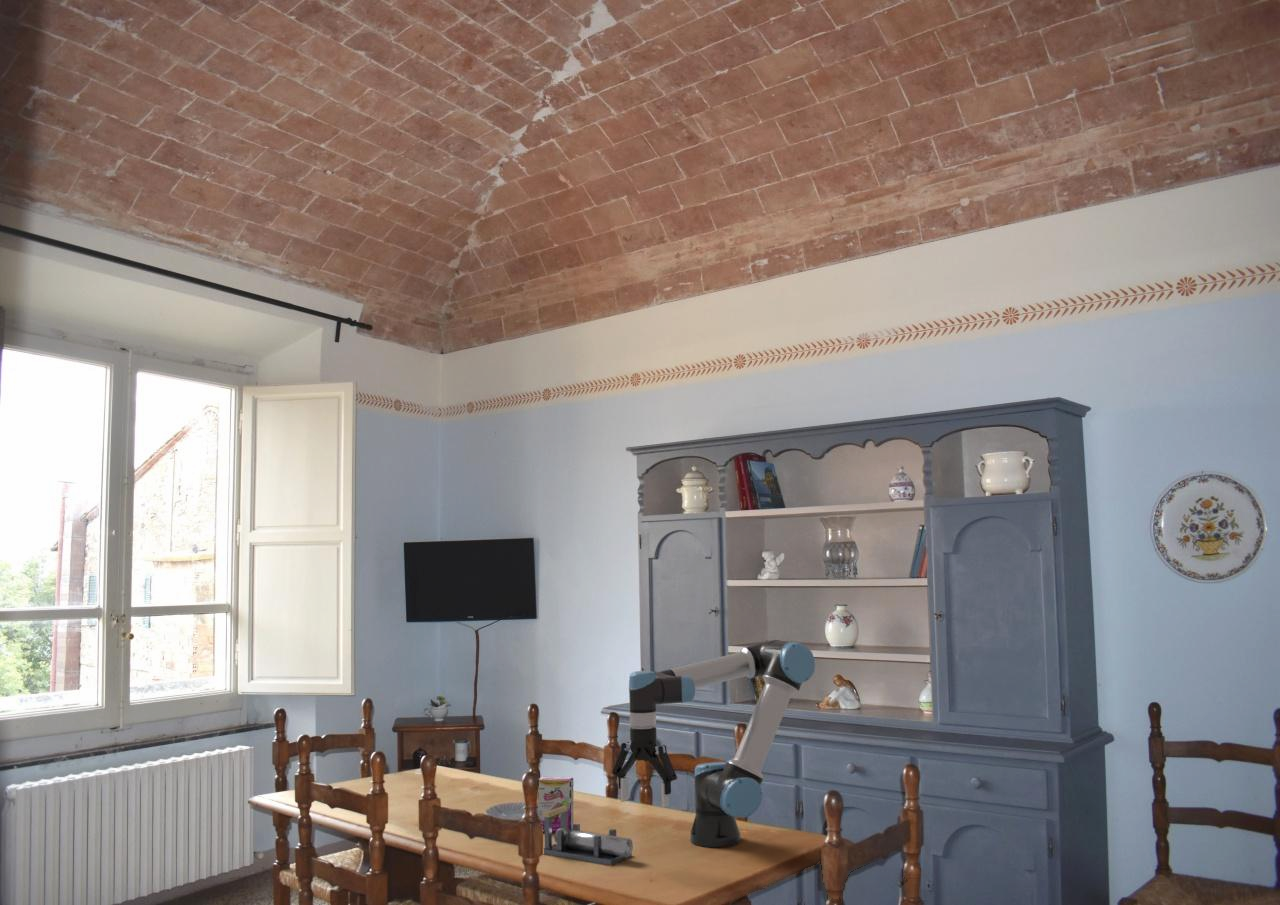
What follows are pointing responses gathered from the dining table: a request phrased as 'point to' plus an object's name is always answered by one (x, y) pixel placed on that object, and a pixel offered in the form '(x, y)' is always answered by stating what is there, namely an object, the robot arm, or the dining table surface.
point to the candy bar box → (555, 799)
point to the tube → (586, 842)
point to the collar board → (571, 852)
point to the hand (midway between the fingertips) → (644, 803)
